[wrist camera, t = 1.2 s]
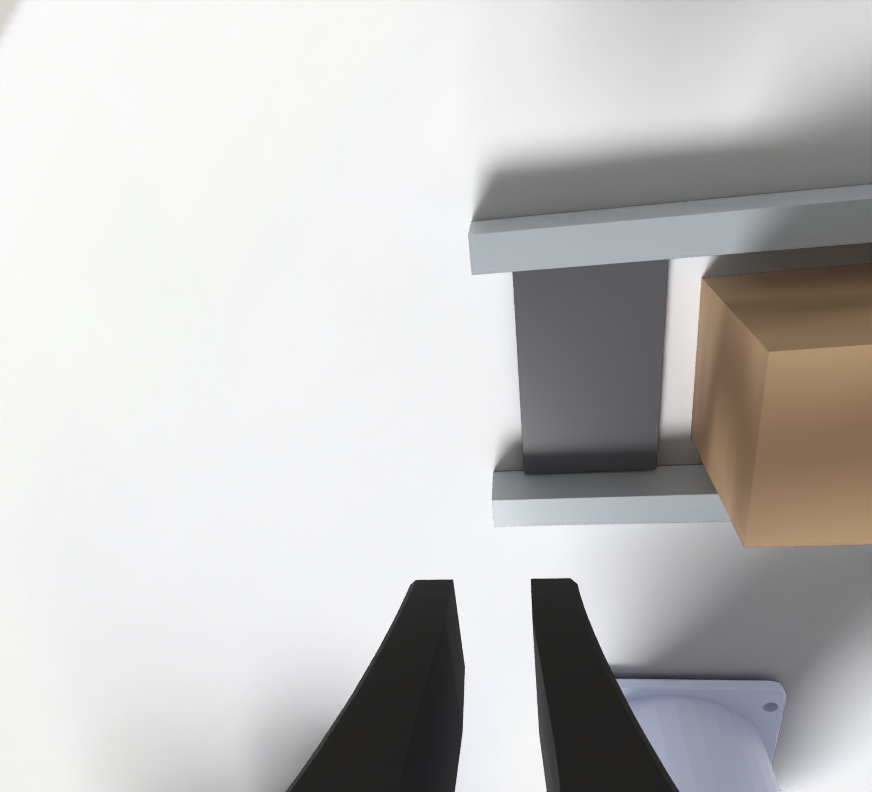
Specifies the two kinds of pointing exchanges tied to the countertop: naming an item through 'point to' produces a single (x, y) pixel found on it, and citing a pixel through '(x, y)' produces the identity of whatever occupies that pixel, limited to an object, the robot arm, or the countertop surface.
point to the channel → (622, 343)
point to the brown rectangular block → (788, 403)
